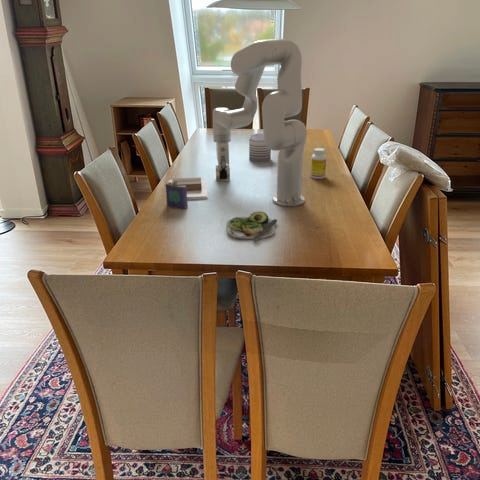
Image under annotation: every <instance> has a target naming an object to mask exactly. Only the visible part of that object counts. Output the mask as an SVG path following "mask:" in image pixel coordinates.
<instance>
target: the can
mask: <svg viewBox="0 0 480 480" xmlns="http://www.w3.org/2000/svg"><path fill="white" fill-rule="evenodd" d="M248 140H249V141H248V142H249V143H248V144H249V147H248V150H249V151H248V152H249V153H248V159H249V160H250V162H251V163H258V164H261V163H263V164H264V163H265V164H266V163H268V162H270V161H271V160H272V159H271V155H272V154H271V153H272V152H271V151H272V150H271V149H269V148H268V147H267V145H266V143H265V140H264V134H263V133H253V134H250V135H249V136H248ZM249 160H248V161H249Z"/></svg>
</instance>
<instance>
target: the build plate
mask: <svg viewBox="0 0 480 480" xmlns="http://www.w3.org/2000/svg"><path fill="white" fill-rule="evenodd" d="M172 180H173V179H169V180H168V183H170V182H171V183H172ZM201 185H202V190H201V191H187V201H190V200H191V201H192V200H193V201H194V200H208V191H207V183H206V178H201Z"/></svg>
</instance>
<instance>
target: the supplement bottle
mask: <svg viewBox="0 0 480 480" xmlns="http://www.w3.org/2000/svg"><path fill="white" fill-rule="evenodd" d="M325 152H326V149H325V148H322V147H316V148H314V149H313V154H312V155H311V160H310V175H309V176H310V178H312V179H314V180H321V179H324V178H325V177H326V166H327V156H326V155H325Z"/></svg>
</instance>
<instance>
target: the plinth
mask: <svg viewBox="0 0 480 480" xmlns="http://www.w3.org/2000/svg"><path fill="white" fill-rule="evenodd" d="M201 179H202V177H201V176H199V177H184V178H183V177H179V178H175V177H174V178H172V179H171V180H172V183H174V182H173V181H174V180H175V181H176V180H177V181H178V182H177V184H178V185H185V186H186V187H187V191H201V190H202V185H201Z"/></svg>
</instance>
